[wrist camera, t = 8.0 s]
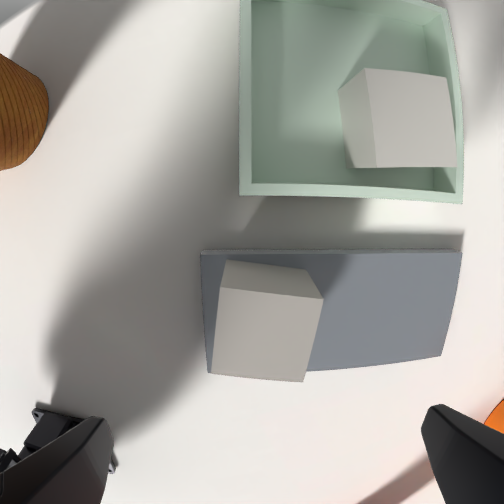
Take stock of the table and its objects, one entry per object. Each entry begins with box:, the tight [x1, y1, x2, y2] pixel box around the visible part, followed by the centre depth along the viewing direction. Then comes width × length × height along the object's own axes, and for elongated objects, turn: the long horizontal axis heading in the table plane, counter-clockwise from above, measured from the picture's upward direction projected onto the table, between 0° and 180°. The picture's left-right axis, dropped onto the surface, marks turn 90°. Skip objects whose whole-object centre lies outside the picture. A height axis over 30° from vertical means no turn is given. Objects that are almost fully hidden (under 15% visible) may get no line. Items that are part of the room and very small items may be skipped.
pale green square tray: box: [239, 0, 464, 204], centre depth 13 cm, size 11×11×3 cm
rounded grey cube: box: [338, 68, 457, 168], centre depth 13 cm, size 4×4×4 cm
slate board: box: [200, 249, 462, 373], centre depth 17 cm, size 7×15×1 cm, turn 91°
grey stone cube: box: [211, 259, 324, 382], centre depth 15 cm, size 4×4×4 cm
